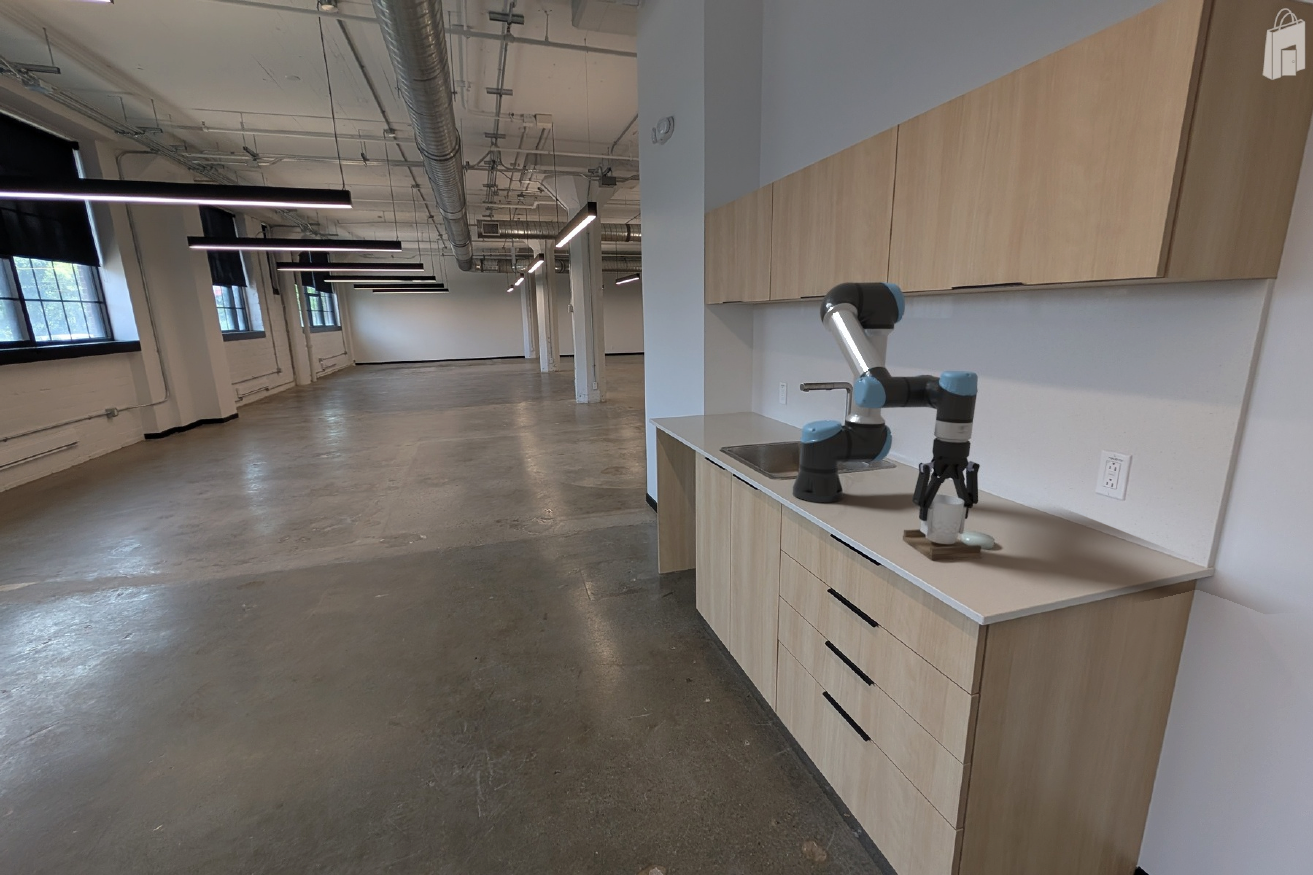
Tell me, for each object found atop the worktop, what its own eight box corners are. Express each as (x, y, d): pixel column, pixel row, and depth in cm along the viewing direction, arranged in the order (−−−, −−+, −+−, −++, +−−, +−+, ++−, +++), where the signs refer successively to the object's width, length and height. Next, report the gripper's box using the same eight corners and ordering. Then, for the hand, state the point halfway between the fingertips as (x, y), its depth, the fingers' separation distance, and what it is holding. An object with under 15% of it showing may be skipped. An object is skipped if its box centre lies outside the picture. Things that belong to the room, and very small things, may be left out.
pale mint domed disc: (954, 539, 136) (955, 532, 135) (980, 538, 136) (981, 530, 136) (973, 550, 129) (974, 543, 128) (1000, 549, 130) (1001, 541, 129)
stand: (902, 539, 135) (903, 529, 134) (947, 537, 136) (948, 527, 135) (931, 560, 123) (932, 549, 122) (980, 557, 124) (981, 546, 124)
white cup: (930, 530, 134) (934, 491, 132) (964, 539, 129) (969, 499, 127) (916, 538, 129) (921, 498, 127) (951, 548, 124) (956, 506, 121)
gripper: (919, 443, 119) (909, 540, 124) (1005, 441, 121) (992, 536, 126) (900, 436, 127) (892, 528, 131) (982, 434, 129) (971, 524, 133)
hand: (941, 532), depth 129 cm, fingers closed on white cup, 8 cm apart
